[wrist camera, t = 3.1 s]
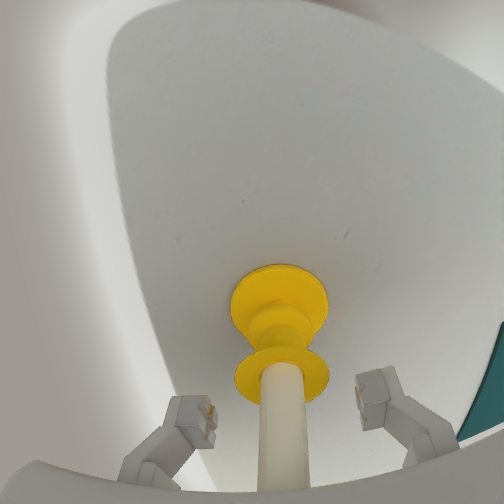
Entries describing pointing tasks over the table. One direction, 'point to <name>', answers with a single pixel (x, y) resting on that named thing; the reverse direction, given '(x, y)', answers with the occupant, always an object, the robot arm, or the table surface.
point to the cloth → (488, 396)
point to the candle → (281, 366)
